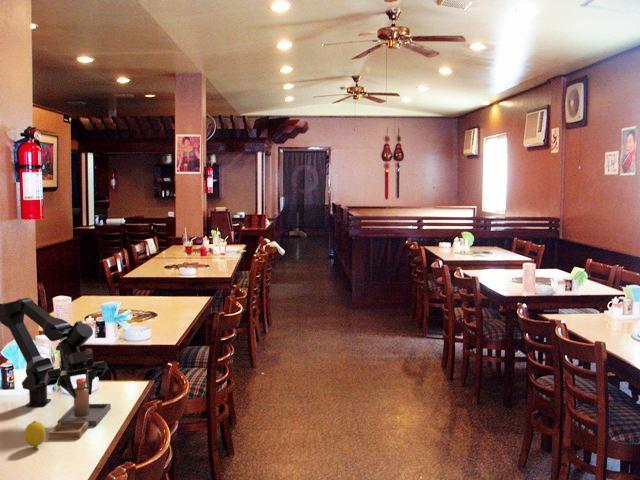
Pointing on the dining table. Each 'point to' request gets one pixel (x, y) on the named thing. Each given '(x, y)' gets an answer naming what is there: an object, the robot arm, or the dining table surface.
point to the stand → (69, 425)
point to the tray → (94, 415)
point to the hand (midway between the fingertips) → (82, 395)
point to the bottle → (81, 399)
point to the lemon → (35, 434)
